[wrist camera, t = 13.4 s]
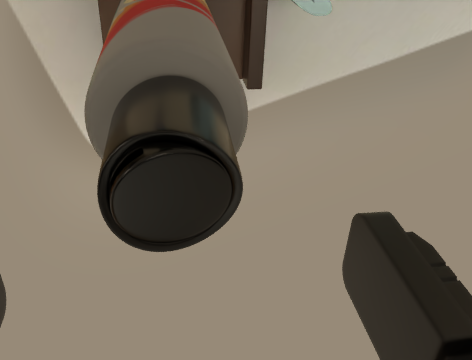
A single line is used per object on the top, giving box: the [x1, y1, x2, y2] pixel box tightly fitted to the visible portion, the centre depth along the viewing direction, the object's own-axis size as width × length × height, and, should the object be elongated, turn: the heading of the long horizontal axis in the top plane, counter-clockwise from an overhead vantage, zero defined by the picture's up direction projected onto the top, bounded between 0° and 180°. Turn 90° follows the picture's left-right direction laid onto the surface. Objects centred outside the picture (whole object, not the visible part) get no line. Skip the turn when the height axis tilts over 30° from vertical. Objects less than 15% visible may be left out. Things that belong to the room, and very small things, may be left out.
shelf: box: [98, 0, 268, 89], centre depth 29 cm, size 10×8×7 cm
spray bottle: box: [85, 0, 248, 252], centre depth 20 cm, size 6×6×20 cm
